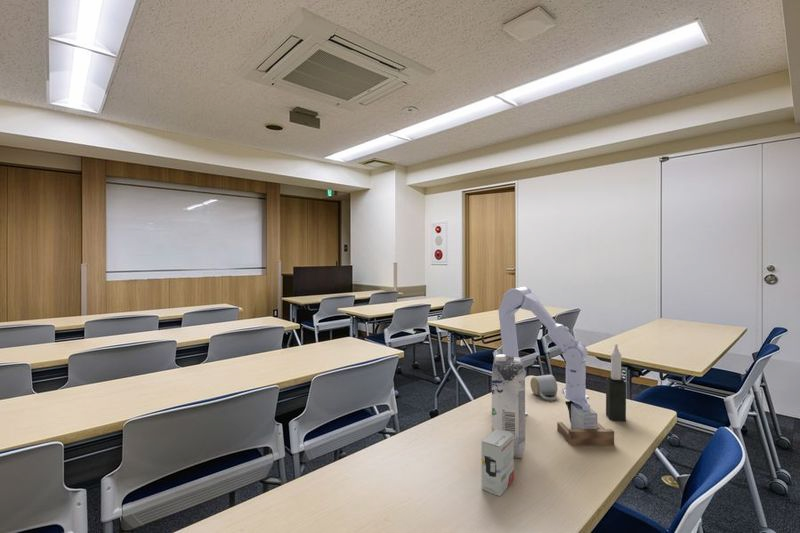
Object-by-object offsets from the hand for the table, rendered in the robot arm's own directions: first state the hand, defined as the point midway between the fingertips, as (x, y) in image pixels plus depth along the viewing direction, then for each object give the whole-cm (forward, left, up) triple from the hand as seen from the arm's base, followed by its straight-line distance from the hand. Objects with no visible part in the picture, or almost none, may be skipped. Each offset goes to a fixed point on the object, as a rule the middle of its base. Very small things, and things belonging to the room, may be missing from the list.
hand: (575, 424), depth 119 cm
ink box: (-32, -29, -1) cm, 43 cm away
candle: (+17, +7, -1) cm, 19 cm away
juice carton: (-25, -13, -1) cm, 28 cm away
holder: (0, -6, -1) cm, 6 cm away
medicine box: (0, -5, -1) cm, 5 cm away
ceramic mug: (+1, +27, -2) cm, 27 cm away
